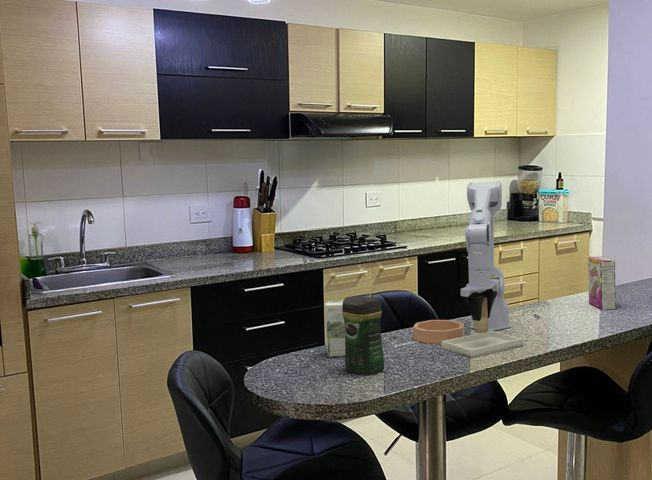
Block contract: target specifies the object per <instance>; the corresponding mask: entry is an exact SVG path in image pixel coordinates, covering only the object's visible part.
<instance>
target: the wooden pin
mask: <svg viewBox="0 0 652 480" xmlns="http://www.w3.org/2000/svg"><path fill="white" fill-rule="evenodd" d="M473 325H474V328H473V330H474V333H475V334H478V333H486V332H488V313H487V298H485V297H484V300H483V303H482V309H481V320H480V321H476V320H473Z"/></svg>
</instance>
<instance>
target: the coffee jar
mask: <svg viewBox="0 0 652 480" xmlns="http://www.w3.org/2000/svg"><path fill="white" fill-rule="evenodd" d="M343 300H344V301H343V306H342V314H343V318H344V323H345V356H344V367H345V370H346V371H348V372H350V373H354V374H358V375H363V376H366V375H367V376H368V375H378V374H379V373H381V372H382V371H383V370H384V369H385V360H384V359H385V358H384V351H383V350H384V349H383V342H382V331H381V318H382V311H383V310H382V306H381V300H379V298H376V297H370V296H364V295H353V296H346V297H345V298H344V299H343Z"/></svg>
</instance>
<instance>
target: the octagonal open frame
mask: <svg viewBox="0 0 652 480" xmlns="http://www.w3.org/2000/svg"><path fill="white" fill-rule="evenodd" d="M464 336H465V324H464V322H459V321H455V320H452V319H429V320H425V321H419V322H416V323H415V324H414V325H413V327H412V338H413V340H415V341H417V342H421V343H422V344H423V343H424V344H434V345H436V344H439V345H440V344H441V341H445V340H450V339H454V338H459V337H464Z"/></svg>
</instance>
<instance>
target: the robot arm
mask: <svg viewBox="0 0 652 480" xmlns="http://www.w3.org/2000/svg"><path fill="white" fill-rule="evenodd" d="M466 185H467V186H466V197H467V199H466V200H467V203H468V207H469V209H470V214H469V218H468V219H469V221H468V226H465V229H464V234H465V235H464V237H465V238H464V239H465V243H466V244H465V245H466V252H467V254H468V255H467V257H468V258H467V259H468V260H467V261H468V283H467V284H465V285H466V286H465V287H463V288H460V296H461V297H463V299H464V301H465V302H466V304H467V306H468V308H469V312H470V315H471V319H472V321H474V320H476V321H480V320H481V309H482V303H483V300H484V297H485V298H487V313H488V331H495V332H496V331H498V330H504V329H508V328H511V327H512V325H510V316H509V315H510V314H509V311H510V310H509V304H508V301H507V300H506V299H505V298H504V297H505V277H504V276H505V275H504V273H503V271H502V270H500V269H499V268H497V266H495V241H494V239H495V237H494V233H495V232H494V228H495V227H494V220H495V215H496V212H498V211H500V210H501V209H502V203H503V202H502V200H503V190H502V189H503V187H502V182H500V180H496V181H482V182H480V181H479V182H471V181H470V182H468V183H467V184H466ZM469 328H471V329H474V324H473V325H470V326H469Z"/></svg>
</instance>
